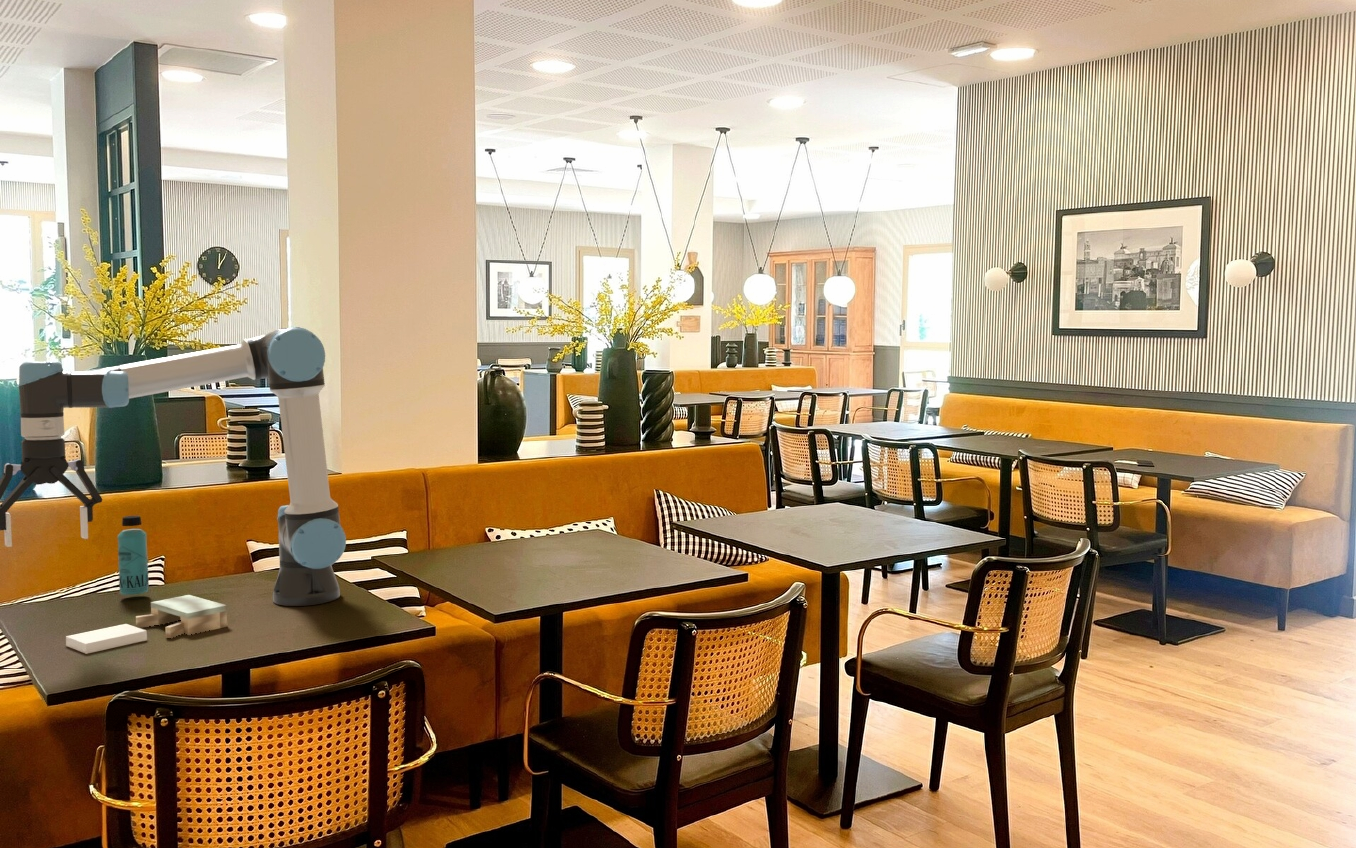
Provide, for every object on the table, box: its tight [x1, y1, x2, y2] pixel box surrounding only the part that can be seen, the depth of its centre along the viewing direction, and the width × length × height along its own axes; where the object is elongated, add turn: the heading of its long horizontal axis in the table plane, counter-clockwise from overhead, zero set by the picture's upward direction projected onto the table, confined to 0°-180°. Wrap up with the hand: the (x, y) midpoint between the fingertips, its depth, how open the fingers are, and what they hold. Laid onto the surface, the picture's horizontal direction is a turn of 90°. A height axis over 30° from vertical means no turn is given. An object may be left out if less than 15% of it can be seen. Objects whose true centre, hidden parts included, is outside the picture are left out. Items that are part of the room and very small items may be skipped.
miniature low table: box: [135, 594, 228, 639], centre depth 230 cm, size 13×16×5 cm
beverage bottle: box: [117, 515, 150, 596], centre depth 256 cm, size 6×7×20 cm
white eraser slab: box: [65, 623, 148, 655], centre depth 218 cm, size 12×9×2 cm
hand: (47, 542), depth 216 cm, fingers open, 13 cm apart
